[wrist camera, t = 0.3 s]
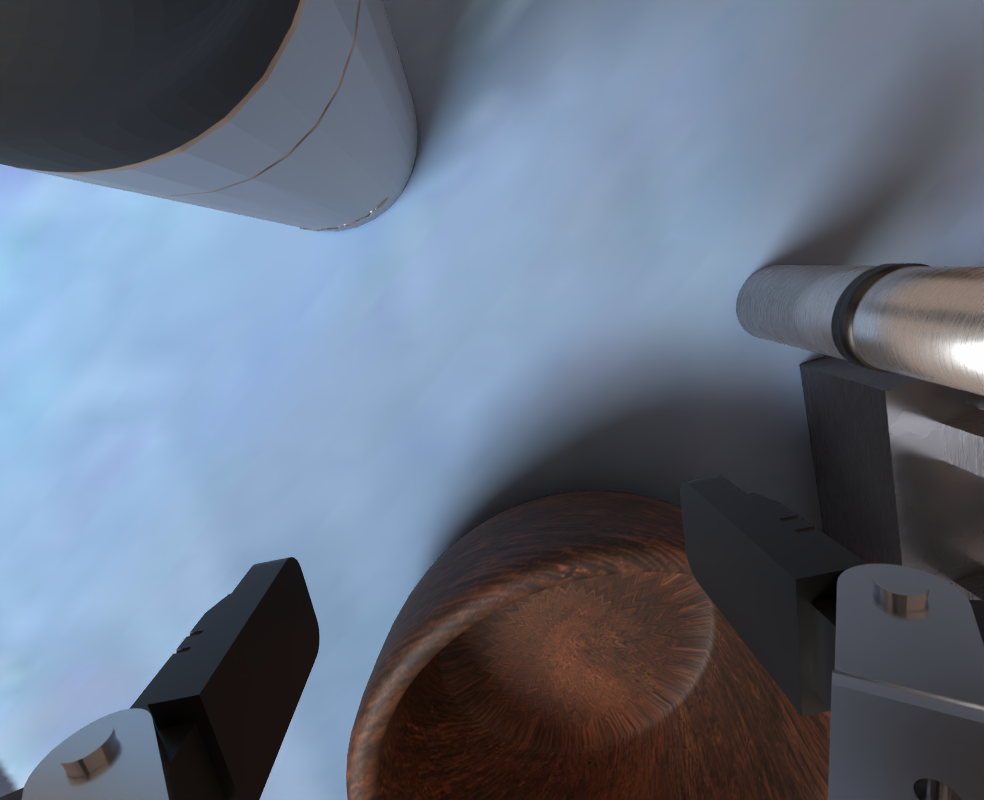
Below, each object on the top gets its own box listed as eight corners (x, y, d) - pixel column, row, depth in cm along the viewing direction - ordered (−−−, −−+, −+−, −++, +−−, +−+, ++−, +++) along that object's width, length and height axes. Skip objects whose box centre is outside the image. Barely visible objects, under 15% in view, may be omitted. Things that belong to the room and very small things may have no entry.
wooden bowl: (665, 373, 28) (773, 433, 18) (813, 674, 35) (952, 838, 25) (299, 579, 31) (222, 731, 21) (503, 826, 37) (517, 1033, 27)
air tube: (728, 277, 27) (992, 292, 14) (803, 252, 27) (1146, 243, 13) (741, 350, 28) (997, 431, 15) (813, 327, 28) (1139, 387, 15)
